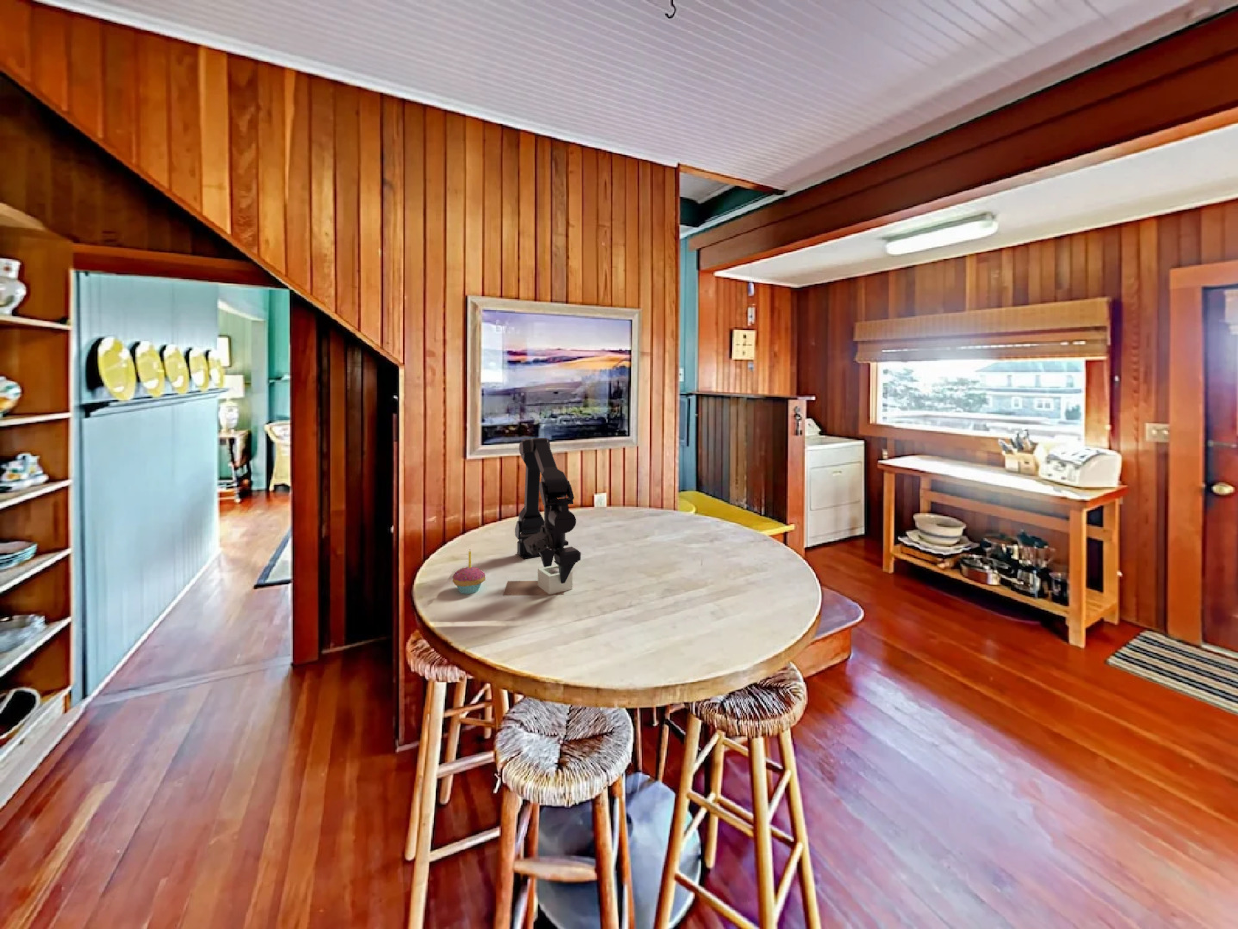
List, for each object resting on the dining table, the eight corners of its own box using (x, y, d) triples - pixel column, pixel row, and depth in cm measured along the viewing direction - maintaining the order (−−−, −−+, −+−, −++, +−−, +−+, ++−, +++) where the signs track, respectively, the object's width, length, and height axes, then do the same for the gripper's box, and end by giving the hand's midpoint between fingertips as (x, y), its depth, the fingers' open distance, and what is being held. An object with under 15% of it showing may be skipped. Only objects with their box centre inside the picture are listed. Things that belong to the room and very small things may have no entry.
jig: (565, 583, 159) (565, 563, 158) (563, 598, 150) (563, 576, 149) (507, 584, 158) (507, 564, 157) (502, 598, 148) (502, 577, 147)
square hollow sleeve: (560, 580, 159) (560, 564, 158) (572, 589, 153) (572, 571, 152) (537, 585, 155) (537, 568, 154) (549, 594, 149) (549, 576, 149)
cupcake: (456, 587, 156) (455, 546, 154) (488, 587, 156) (487, 545, 154) (450, 600, 147) (448, 556, 145) (483, 599, 148) (482, 555, 146)
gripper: (513, 518, 154) (513, 572, 157) (543, 536, 139) (543, 595, 142) (549, 513, 160) (549, 565, 163) (582, 529, 145) (581, 586, 148)
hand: (555, 577), depth 154 cm, fingers open, 9 cm apart
